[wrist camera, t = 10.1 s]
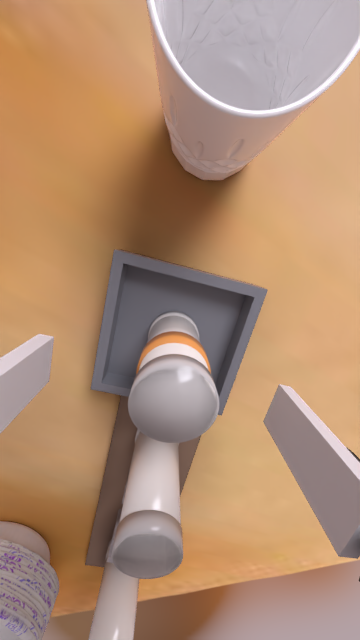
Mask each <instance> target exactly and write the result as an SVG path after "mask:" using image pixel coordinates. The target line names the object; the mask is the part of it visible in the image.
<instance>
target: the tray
mask: <svg viewBox="0 0 360 640" xmlns="http://www.w3.org/2000/svg"><path fill="white" fill-rule="evenodd" d="M266 293H267V289H264V288H262V287H259V286H257V285H253V284H250V283H246V282H242V281H238V280H234V279H231V278H227V277H223V276H219V275H215V274H212V273H208V272H204V271H200V270H196V269H193V268H189V267H185V266H181V265H177V264H174V263H170V262H166V261H162V260H158V259H155V258H151V257H147V256H143V255H139V254H136V253H132V252H128V251H124V250H115V249H114V254H113V260H112V266H111V272H110V278H109V284H108V290H107V296H106V302H105V307H104V313H103V319H102V325H101V331H100V337H99V343H98V349H97V355H96V361H95V367H94V373H93V379H92V385H91V389H92V390H97V391H102V392H107V393H112V394H117V395H122V396H127V397H129V395H130V392H131V388H132V385H133V382H134V379H135V377H136V371H137V366H138V363H139V360H140V356H141V353H142V351H143V348H144V347H145V345H146V344H147V341H148V333H149V330H150V327H151V324H152V322H153V321H154V320H155V318H156V317H158V316H159V315H160V314H162V313H164V312H168V311H180V312H183V313H185V314H187V315H188V316H190V317H191V318H192V319H193V321H194V322H195V324H196V326H197V329H198V332H199V340H200V343H201V345H202V346H203V348H204V350H205V352H206V355H207V358H208V361H209V365H210V369H211V375H212V377H213V380H214V383H215V386H216V390H217V393H218V396H219V411H218V415H222V413H223V410H224V408H225V405H226V402H227V399H228V397H229V394H230V391H231V388H232V386H233V383H234V380H235V378H236V375H237V372H238V369H239V367H240V364H241V361H242V359H243V356H244V353H245V350H246V348H247V345H248V342H249V339H250V337H251V334H252V331H253V329H254V326H255V323H256V320H257V318H258V315H259V312H260V310H261V307H262V304H263V301H264V299H265V296H266Z"/></svg>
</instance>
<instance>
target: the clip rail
mask: <svg viewBox="0 0 360 640" xmlns="http://www.w3.org/2000/svg"><path fill="white" fill-rule="evenodd" d="M128 399H129V397H127V396H122V395H121V398H120V403H119V408H118V413H117V417H116V422H115V427H114V431H113V436H112V441H111V445H110V450H109V455H108V459H107V464H106V469H105V474H104V478H103V483H102V488H101V492H100V497H99V502H98V506H97V511H96V516H95V520H94V525H93V530H92V535H91V539H90V544H89V549H88V553H87V558H86V563H85V565H91V566H99V567H104V566H105V562H106V553H107V549H108V544H109V542H110V540H111V539H112V541H111V545H110V550H109V555H108V559H107V562H110V563H113V561H112V556H111V555H112V549H113V544H114V539H115V534H116V530H117V526H118V524H119V522H120V517H121V512H122V507H123V502H124V497H125V492H126V487H127V482H128V477H129V472H130V467H131V462H132V457H133V452H134V447H135V437H136V432H137V427H136V426H135V425H134V423H133V422H132V420H131V418H130V415H129V410H128ZM200 437H201V435H200V436H198V437H197V438H194V439H192V440H189V441H186V442H181V443H179V446H178V448H179V485H180V495H181V492H182V489H183V486H184V483H185V481H186V478H187V475H188V472H189V469H190V466H191V463H192V460H193V457H194V455H195V452H196V449H197V446H198V443H199V440H200Z"/></svg>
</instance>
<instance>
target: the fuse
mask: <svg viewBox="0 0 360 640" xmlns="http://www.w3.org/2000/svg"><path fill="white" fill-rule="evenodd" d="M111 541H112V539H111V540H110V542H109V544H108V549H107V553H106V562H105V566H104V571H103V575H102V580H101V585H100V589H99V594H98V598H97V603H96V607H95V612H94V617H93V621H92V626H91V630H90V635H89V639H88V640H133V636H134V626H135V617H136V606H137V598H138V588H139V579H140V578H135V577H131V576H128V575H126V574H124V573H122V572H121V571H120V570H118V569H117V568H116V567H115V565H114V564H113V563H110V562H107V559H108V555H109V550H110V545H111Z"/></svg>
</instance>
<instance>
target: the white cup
mask: <svg viewBox="0 0 360 640" xmlns="http://www.w3.org/2000/svg"><path fill="white" fill-rule="evenodd" d="M146 3H147V9H148V16H149V22H150V29H151V35H152V42H153V49H154V56H155V62H156V69H157V76H158V83H159V90H160V96H161V102H162V108H163V111H164V117H165V122H166V125H167V128H168V132H169V137H170V142H171V147H172V152H173V153H174V155H175V156H176V158H177V159H178V161H179V162H180V163H181V165H182V166H183V168H184V169H185V170H186V171H187V172H189V173H191V174H193V175H195V176H196V177H198V178H200V179H202V180H223V179H225V178H227V177H229V176H231V175H233V174H235V173H237V172H239V171H240V170H241V169H242V168H243V167H244V166H245V165H246V164H247V163H249V162H250V161H251V160H253V159H254V158H255V157H257V156H258V155H259V154H260V153H261V152H262V151H263V150H264V149H265V148H266V147H268V146H269V145H270V144H271V143H272V142H273V141H274V140H275V139H276V138H277V137H278V136H279V135H281V134H282V133H283V132H284V131H285V130H286V129H287V128H288V127H289V126H290V125H291V124H292V123H293V122H294V121H295V120H296V119H297V118H298V117H299V116H300V115H301V114H302V113H303V112H304V111H305V110H306V109H307V108H308V107H309V106H310V105H311V104H312V103H314V102H315V101H316V100H317V99H318V98H319V97H320V96H321V95H322V94H323V93H324V92H325V91H326V90H327V89H328V88H329V87H330V86H331V85H332V84H333V83H334V82H335V81H336V80H337V79H338V78H339V77H340V76H341V75H342V73H343V72H344V71H345V70H346V69H347V67H348V66H349V65H350V63H351V62H352V60H353V59H354V58H355V56H356V54H357V53H358V51H359V50H360V0H146Z"/></svg>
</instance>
